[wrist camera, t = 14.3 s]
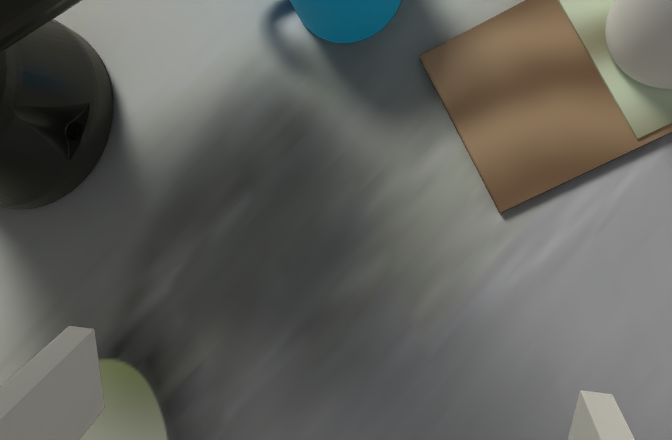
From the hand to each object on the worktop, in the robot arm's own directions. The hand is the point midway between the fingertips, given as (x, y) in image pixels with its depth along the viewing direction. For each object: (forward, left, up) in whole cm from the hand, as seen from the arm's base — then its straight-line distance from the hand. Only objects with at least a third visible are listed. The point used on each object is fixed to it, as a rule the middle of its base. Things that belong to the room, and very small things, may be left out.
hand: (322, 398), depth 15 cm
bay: (-11, +20, -23) cm, 32 cm away
